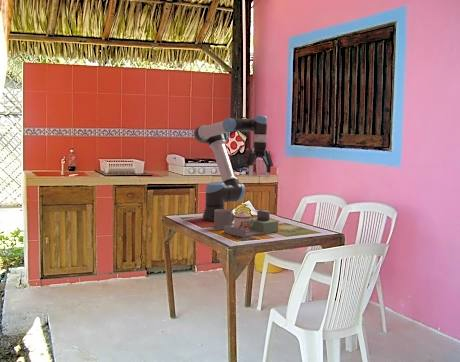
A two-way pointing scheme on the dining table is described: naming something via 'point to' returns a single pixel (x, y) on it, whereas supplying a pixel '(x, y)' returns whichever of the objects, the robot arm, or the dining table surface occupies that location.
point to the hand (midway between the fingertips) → (258, 177)
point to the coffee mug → (222, 218)
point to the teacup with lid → (243, 221)
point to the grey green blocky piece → (255, 226)
